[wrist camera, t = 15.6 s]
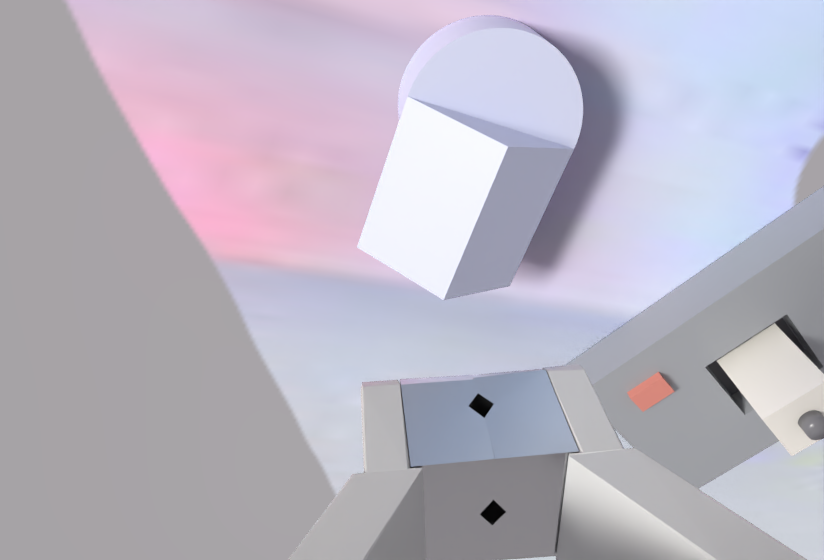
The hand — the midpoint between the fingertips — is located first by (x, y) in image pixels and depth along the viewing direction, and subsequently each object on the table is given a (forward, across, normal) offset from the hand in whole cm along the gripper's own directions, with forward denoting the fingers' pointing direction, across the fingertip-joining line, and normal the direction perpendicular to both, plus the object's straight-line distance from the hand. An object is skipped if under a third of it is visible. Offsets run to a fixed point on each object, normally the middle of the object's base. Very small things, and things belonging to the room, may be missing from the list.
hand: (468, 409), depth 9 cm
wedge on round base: (+29, -5, +6) cm, 30 cm away
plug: (+27, -24, +22) cm, 42 cm away
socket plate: (+28, -24, +22) cm, 43 cm away
